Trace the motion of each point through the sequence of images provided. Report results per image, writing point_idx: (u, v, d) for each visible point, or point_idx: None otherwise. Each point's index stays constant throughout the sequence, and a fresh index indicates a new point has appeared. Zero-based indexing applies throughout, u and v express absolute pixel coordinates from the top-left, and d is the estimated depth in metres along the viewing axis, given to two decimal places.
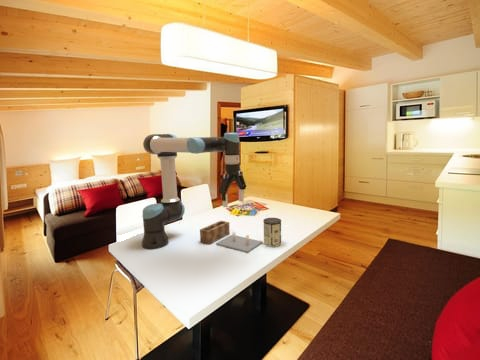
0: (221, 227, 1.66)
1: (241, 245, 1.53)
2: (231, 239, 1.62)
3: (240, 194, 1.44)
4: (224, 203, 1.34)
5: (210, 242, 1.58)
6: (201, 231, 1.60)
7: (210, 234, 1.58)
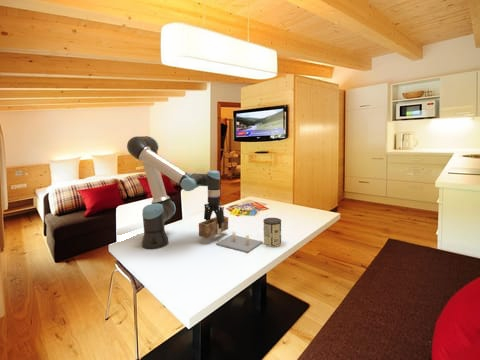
0: None
1: (241, 245, 1.53)
2: (231, 239, 1.62)
3: None
4: None
5: (208, 236, 1.58)
6: (200, 225, 1.59)
7: (209, 228, 1.57)
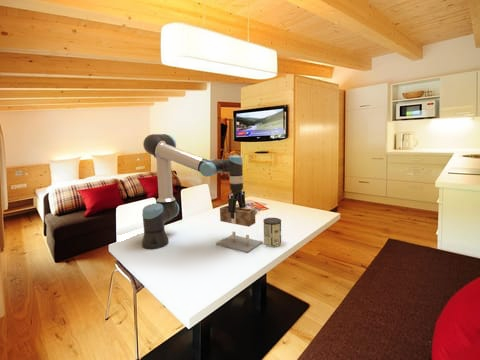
0: None
1: (241, 245, 1.53)
2: (231, 239, 1.62)
3: None
4: (233, 220, 1.52)
5: None
6: (249, 213, 1.47)
7: None
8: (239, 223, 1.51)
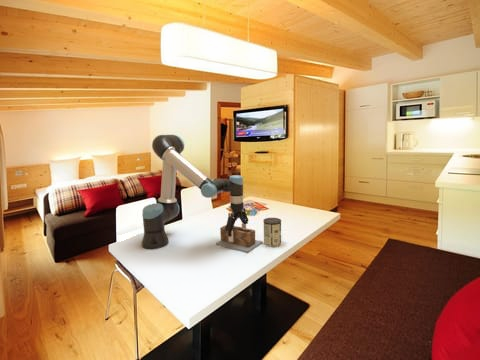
0: None
1: None
2: None
3: None
4: (230, 238, 1.51)
5: None
6: (249, 234, 1.49)
7: None
8: (239, 243, 1.53)
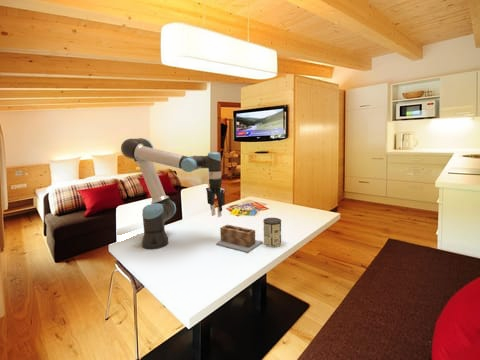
0: None
1: None
2: None
3: None
4: None
5: None
6: (249, 234, 1.49)
7: None
8: (239, 243, 1.53)
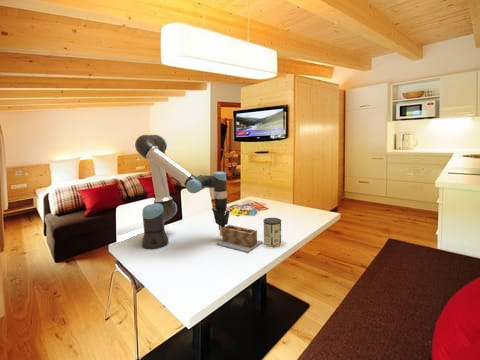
0: None
1: None
2: None
3: None
4: None
5: None
6: (251, 235, 1.49)
7: None
8: (241, 244, 1.52)
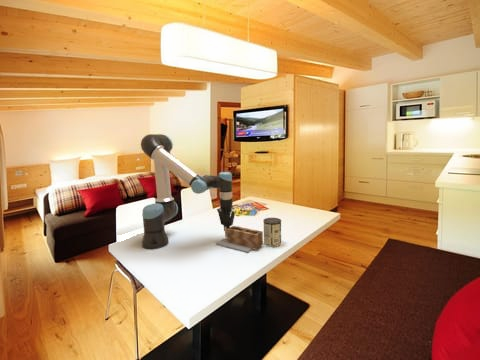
0: None
1: None
2: None
3: None
4: None
5: None
6: (257, 236, 1.47)
7: None
8: (246, 245, 1.50)
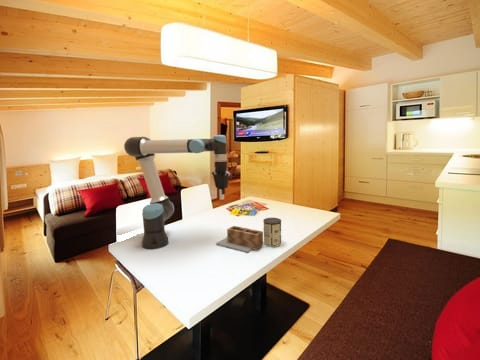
0: None
1: None
2: None
3: None
4: None
5: None
6: (257, 236, 1.47)
7: None
8: (247, 245, 1.50)
